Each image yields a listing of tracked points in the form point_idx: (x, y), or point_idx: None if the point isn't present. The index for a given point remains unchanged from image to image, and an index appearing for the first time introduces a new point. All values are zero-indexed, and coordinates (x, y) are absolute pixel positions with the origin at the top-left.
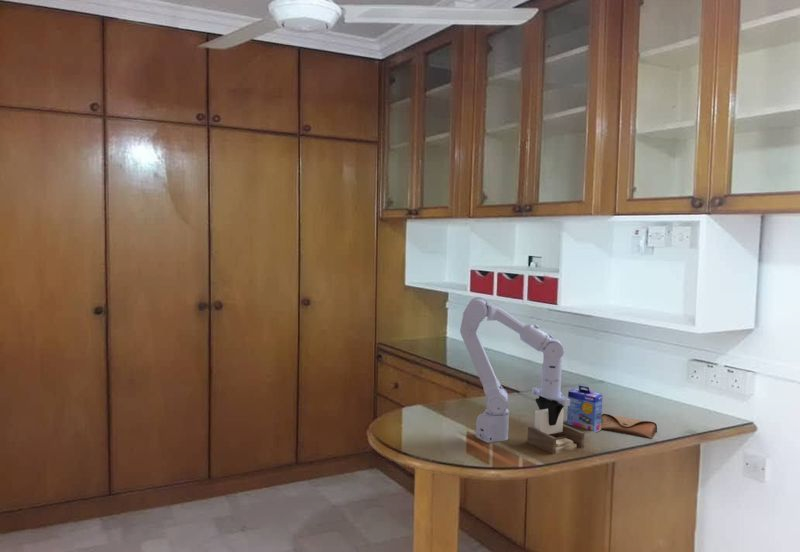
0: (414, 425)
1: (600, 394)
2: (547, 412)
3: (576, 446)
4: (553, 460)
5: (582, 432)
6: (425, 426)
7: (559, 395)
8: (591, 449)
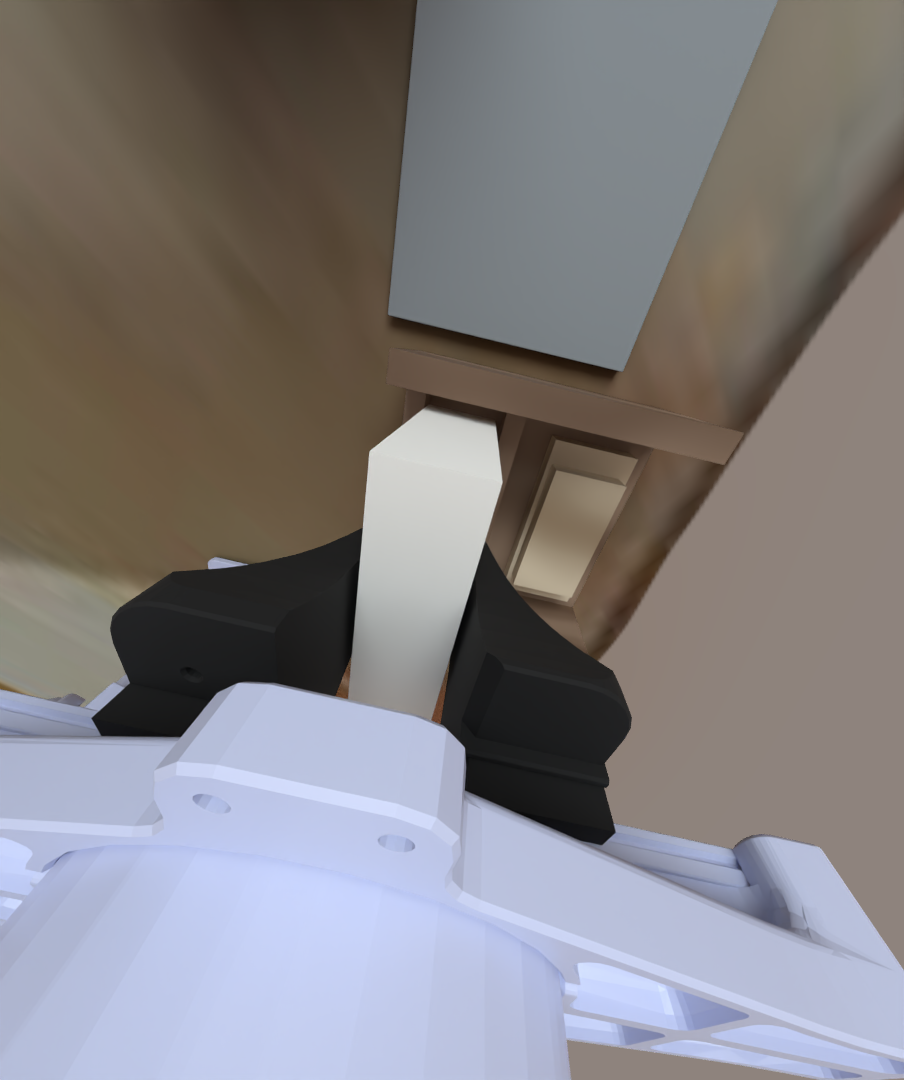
0: (44, 681)
1: None
2: (437, 690)
3: (632, 455)
4: (582, 631)
5: (723, 442)
6: (58, 667)
7: (560, 975)
8: (702, 325)
